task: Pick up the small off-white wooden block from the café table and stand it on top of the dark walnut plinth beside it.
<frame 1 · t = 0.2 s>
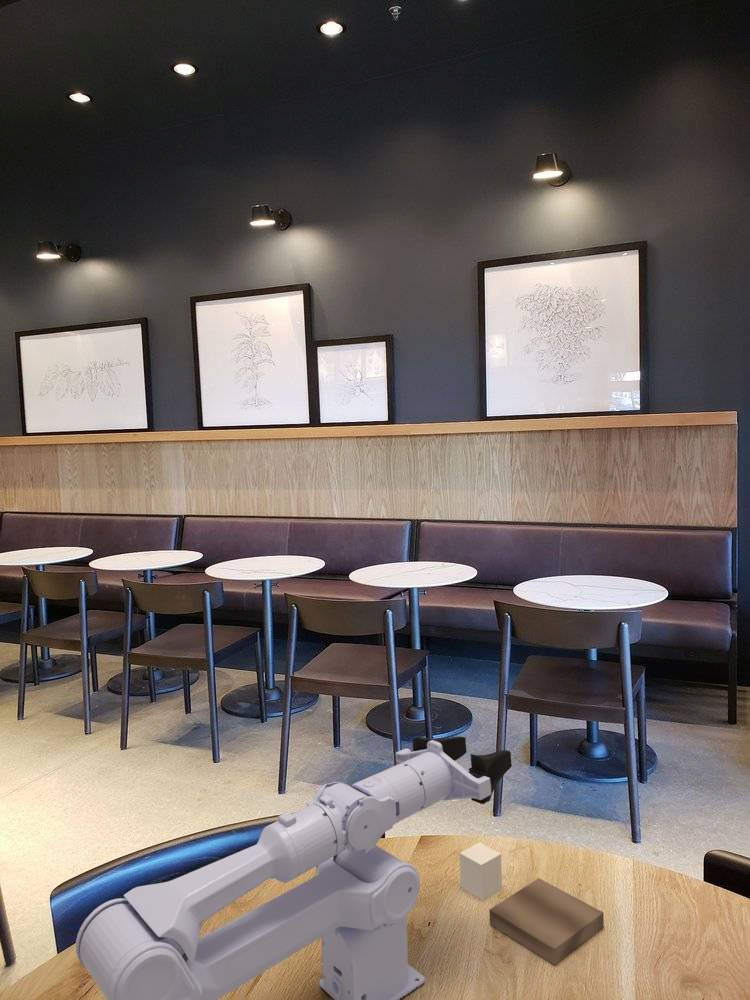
hand: (485, 751, 95), 21 cm above the table, tool horizontal, fingers open, 7 cm apart
medicine box: (347, 892, 102), on the table
off-white block: (481, 888, 101), on the table
walnut plinth: (546, 926, 93), on the table
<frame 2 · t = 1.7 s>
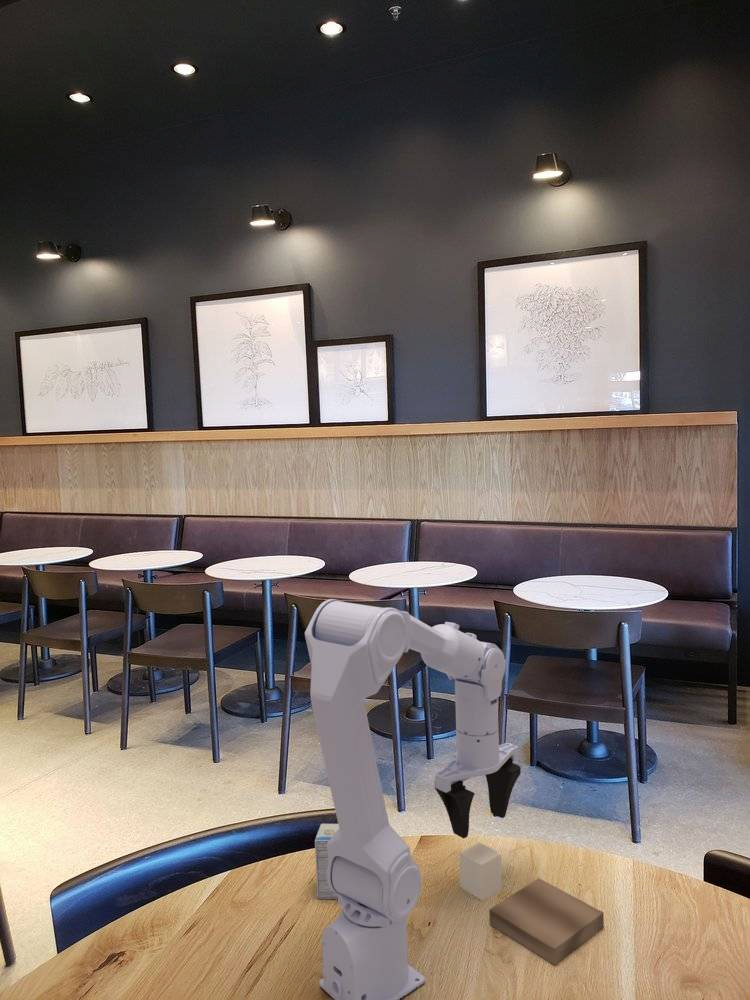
hand: (479, 824, 101), 9 cm above the table, tool pointing down, fingers open, 7 cm apart
nothing on the table moved.
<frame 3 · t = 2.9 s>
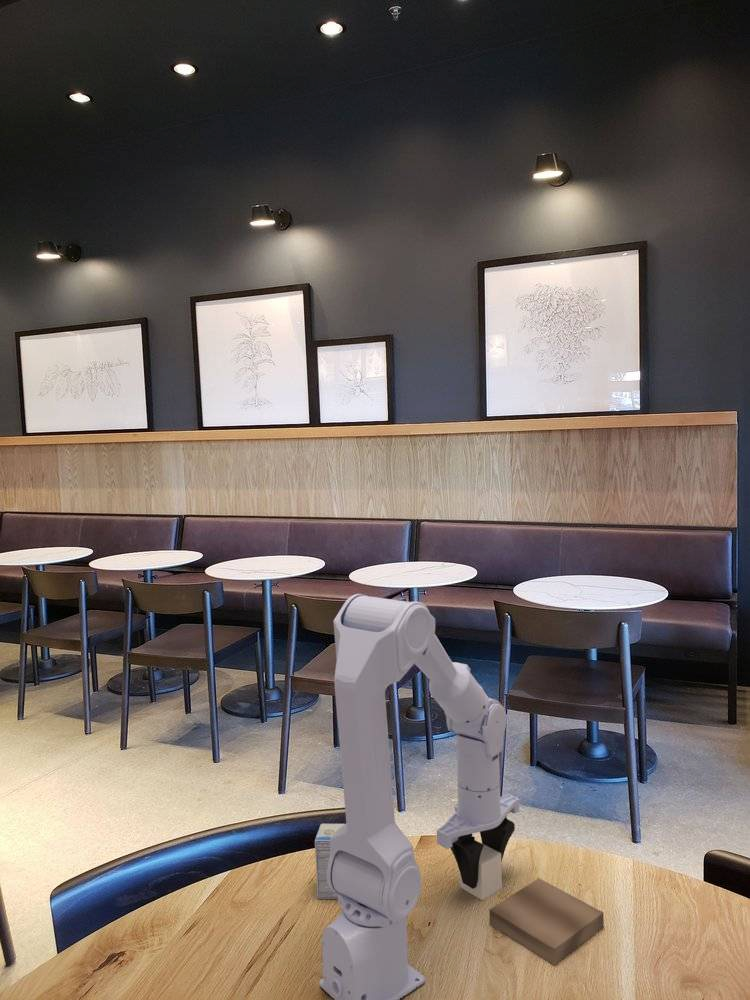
hand: (480, 877, 101), 1 cm above the table, tool pointing down, fingers closed on off-white block, 4 cm apart
off-white block: (481, 887, 101), on the table, touching gripper
everything else where it was.
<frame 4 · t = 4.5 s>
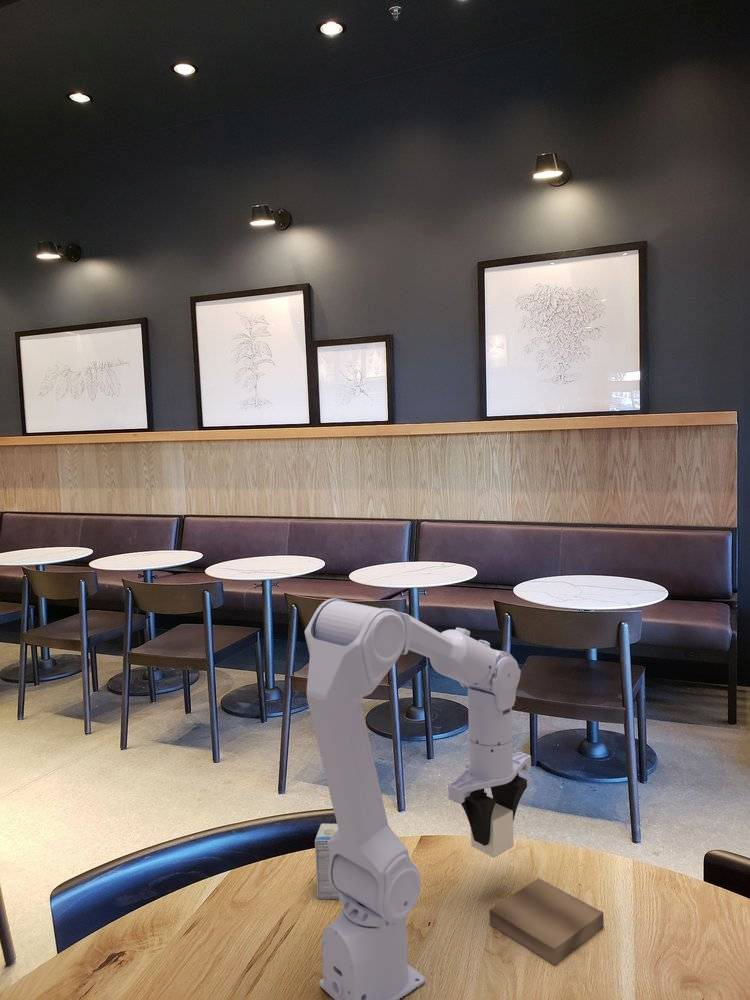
hand: (492, 835, 99), 8 cm above the table, tool pointing down, fingers closed on off-white block, 4 cm apart
off-white block: (492, 846, 99), point 7 cm above the table, touching gripper
everything else where it was.
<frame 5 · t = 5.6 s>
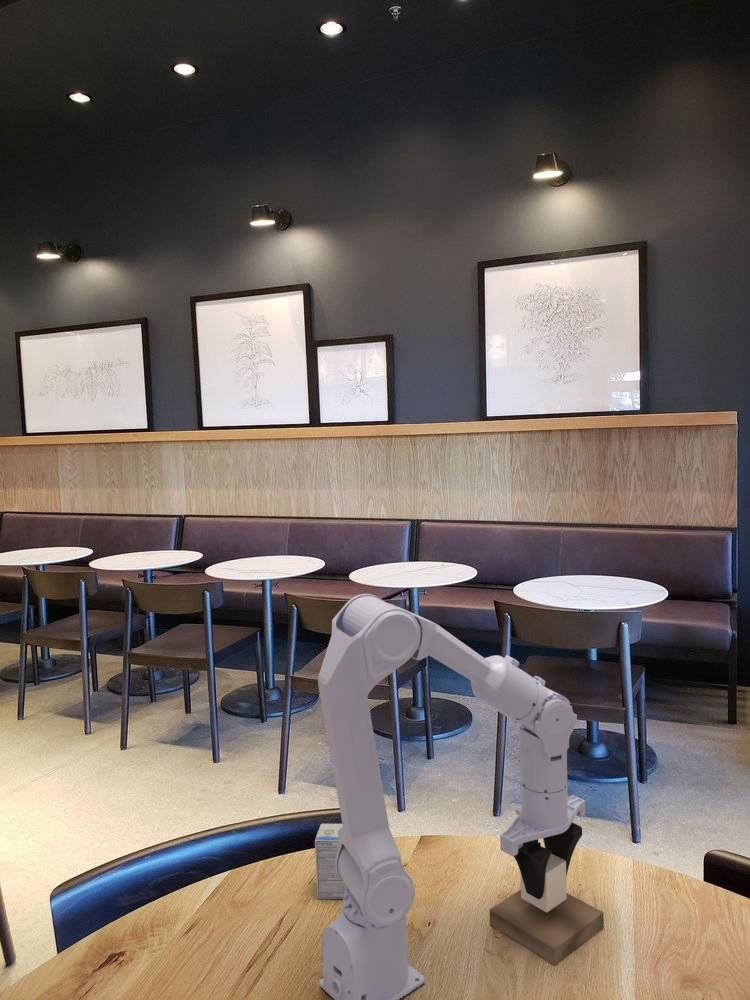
hand: (545, 887, 92), 5 cm above the table, tool pointing down, fingers closed on off-white block, 4 cm apart
off-white block: (543, 898, 93), point 3 cm above the table, touching gripper
everything else where it was.
when the fingers open (4 cm above the table, at t = 6.2 s): off-white block stays where it is, resting on walnut plinth.
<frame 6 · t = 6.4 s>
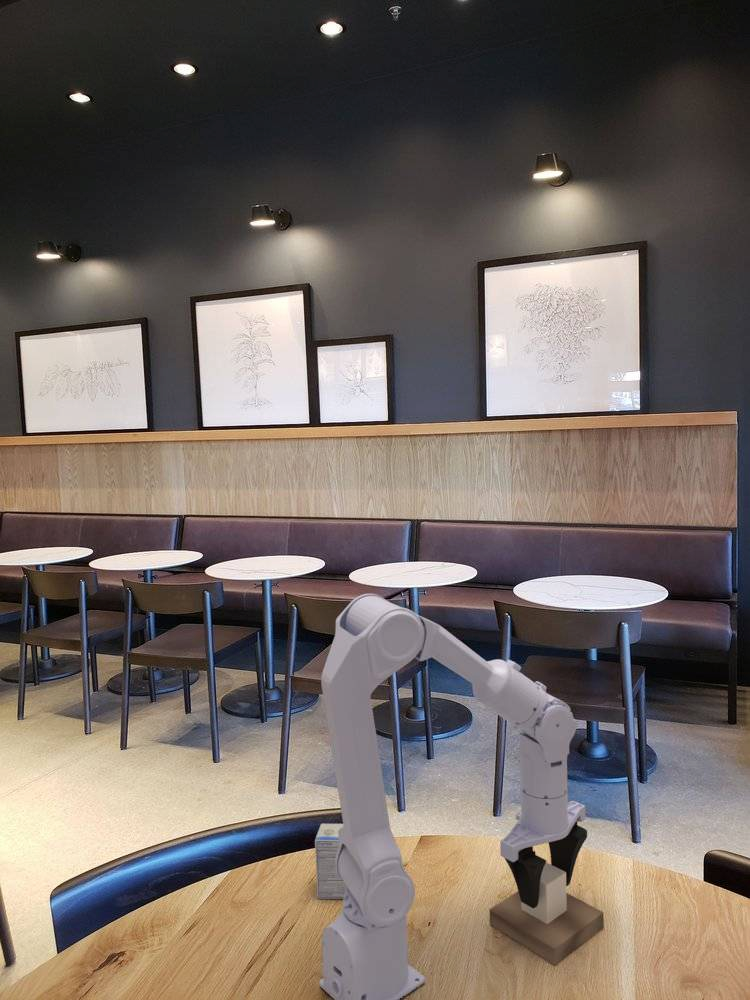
hand: (545, 892, 93), 4 cm above the table, tool pointing down, fingers open, 6 cm apart
off-white block: (543, 909, 93), point 2 cm above the table, touching walnut plinth
everything else where it was.
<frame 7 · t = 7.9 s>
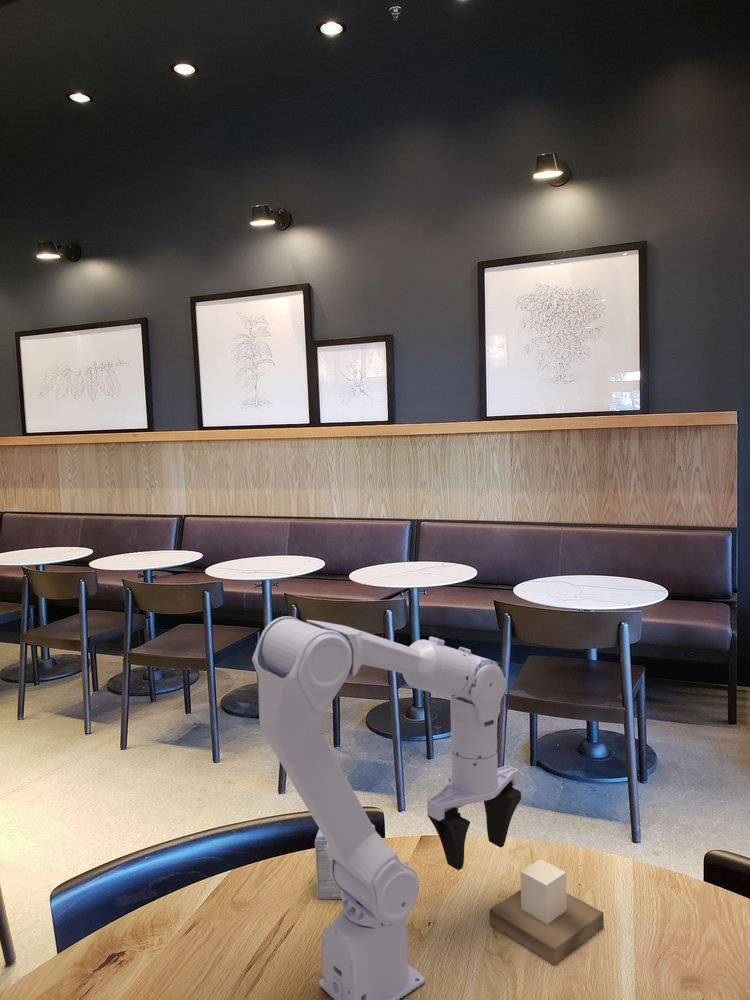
hand: (476, 854, 93), 9 cm above the table, tool pointing down, fingers open, 7 cm apart
nothing on the table moved.
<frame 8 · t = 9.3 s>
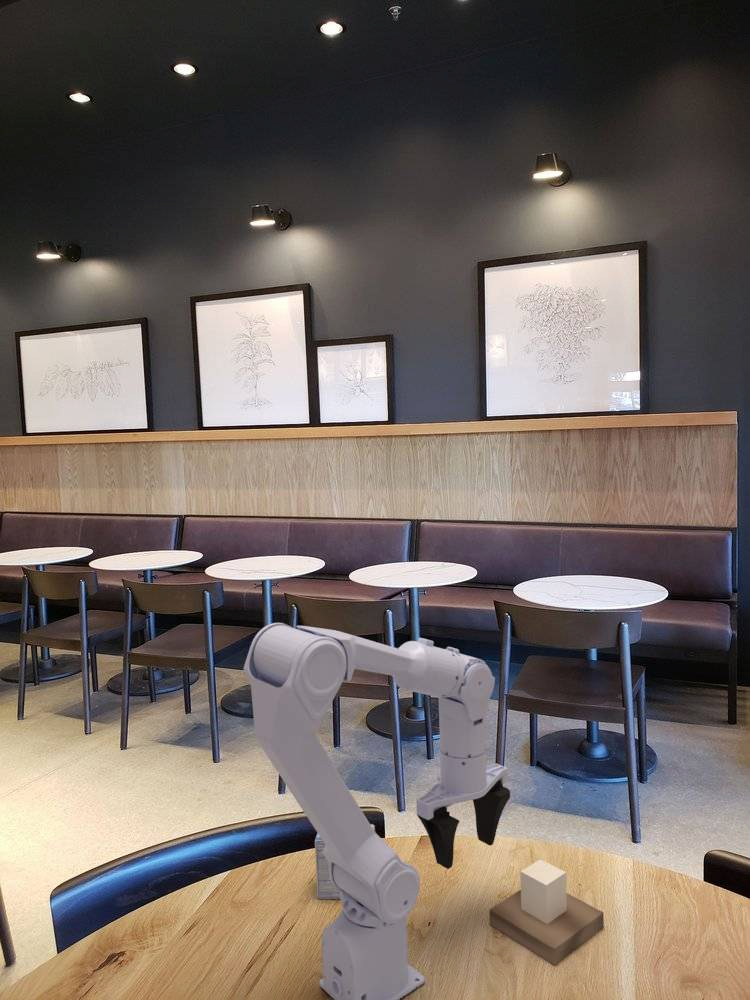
hand: (465, 853, 93), 9 cm above the table, tool pointing down, fingers open, 7 cm apart
nothing on the table moved.
at the end: off-white block 0.3 cm off-centre on the walnut plinth, point 2.0 cm above the walnut plinth's base; off-white block tilted 0°; the gripper is holding nothing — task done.
